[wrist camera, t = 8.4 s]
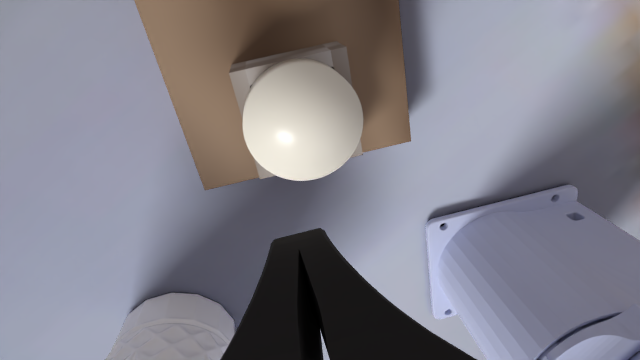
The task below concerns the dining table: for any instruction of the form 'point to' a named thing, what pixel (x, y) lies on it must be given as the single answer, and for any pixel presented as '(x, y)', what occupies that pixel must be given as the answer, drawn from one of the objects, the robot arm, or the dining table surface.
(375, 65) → the knob mount
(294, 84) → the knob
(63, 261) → the dining table surface
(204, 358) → the white cup
